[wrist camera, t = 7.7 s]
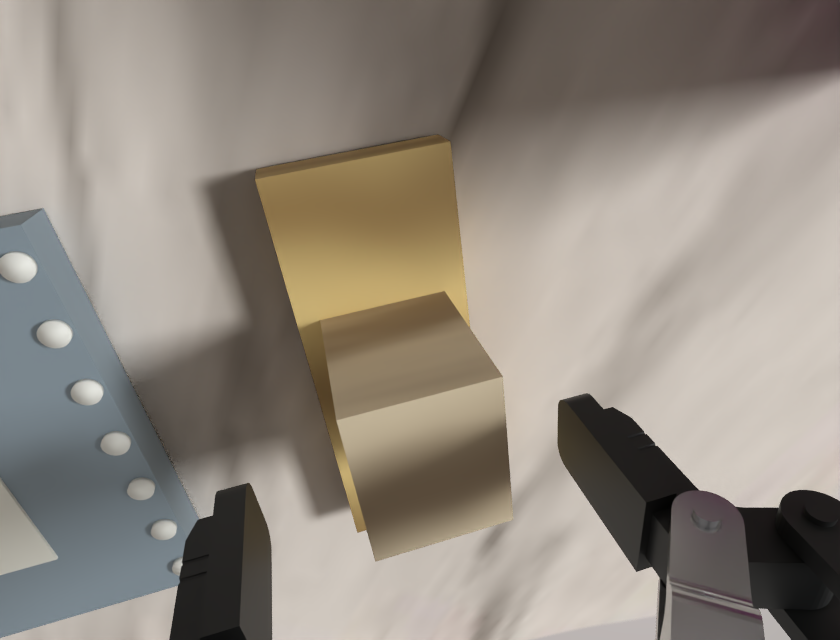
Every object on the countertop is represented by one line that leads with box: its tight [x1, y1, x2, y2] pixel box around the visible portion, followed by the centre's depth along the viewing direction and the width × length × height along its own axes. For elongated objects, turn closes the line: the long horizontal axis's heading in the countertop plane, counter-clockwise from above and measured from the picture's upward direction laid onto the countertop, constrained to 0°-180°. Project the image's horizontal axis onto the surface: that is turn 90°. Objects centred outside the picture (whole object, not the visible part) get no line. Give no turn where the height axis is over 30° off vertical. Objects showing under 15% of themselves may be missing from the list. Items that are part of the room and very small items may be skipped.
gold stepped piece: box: [255, 135, 513, 562], centre depth 16 cm, size 14×5×6 cm, turn 8°
